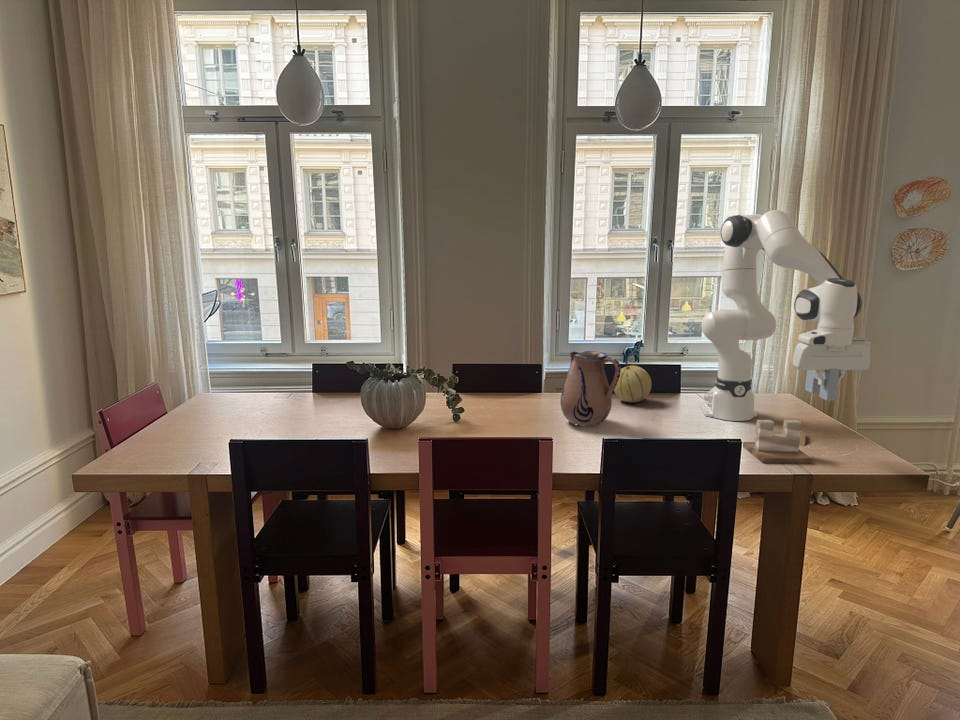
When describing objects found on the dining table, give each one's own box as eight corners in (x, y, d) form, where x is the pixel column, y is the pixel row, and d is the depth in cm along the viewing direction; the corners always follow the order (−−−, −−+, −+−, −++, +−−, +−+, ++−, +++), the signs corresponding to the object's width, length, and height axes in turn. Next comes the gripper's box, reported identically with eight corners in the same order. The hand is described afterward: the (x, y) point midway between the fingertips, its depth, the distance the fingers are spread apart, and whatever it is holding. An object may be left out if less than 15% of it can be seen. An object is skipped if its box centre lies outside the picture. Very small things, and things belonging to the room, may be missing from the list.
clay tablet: (770, 430, 207) (771, 423, 206) (803, 434, 202) (804, 427, 202) (769, 443, 194) (770, 435, 193) (805, 448, 190) (806, 440, 189)
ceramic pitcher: (570, 413, 225) (572, 347, 220) (626, 421, 215) (630, 352, 210) (552, 426, 211) (553, 355, 206) (611, 435, 200) (614, 361, 195)
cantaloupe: (656, 401, 242) (659, 364, 239) (639, 409, 231) (641, 370, 228) (623, 395, 251) (624, 359, 248) (605, 402, 240) (606, 365, 237)
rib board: (742, 446, 190) (745, 414, 188) (788, 446, 189) (791, 414, 187) (762, 463, 176) (765, 428, 174) (811, 463, 176) (815, 428, 174)
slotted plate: (804, 389, 184) (808, 360, 182) (812, 389, 184) (816, 360, 182) (826, 400, 172) (830, 369, 170) (835, 400, 172) (839, 369, 170)
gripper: (864, 335, 173) (858, 382, 176) (792, 335, 174) (787, 382, 176) (878, 338, 167) (872, 387, 170) (804, 338, 167) (798, 387, 170)
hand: (828, 384), depth 173 cm, fingers closed on slotted plate, 2 cm apart
